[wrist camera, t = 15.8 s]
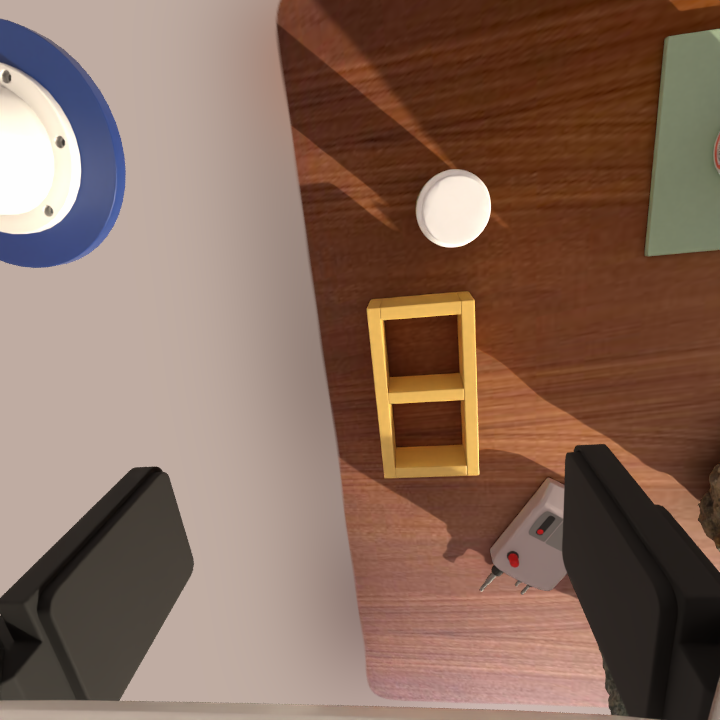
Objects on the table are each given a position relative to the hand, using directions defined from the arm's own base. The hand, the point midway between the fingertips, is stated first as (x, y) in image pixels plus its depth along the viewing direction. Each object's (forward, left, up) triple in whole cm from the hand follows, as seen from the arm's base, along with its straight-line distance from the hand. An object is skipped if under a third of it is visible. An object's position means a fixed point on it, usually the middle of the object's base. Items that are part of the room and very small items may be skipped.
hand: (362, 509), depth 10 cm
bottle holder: (+2, -8, -28) cm, 29 cm away
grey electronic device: (+12, -25, -28) cm, 40 cm away
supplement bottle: (+4, +6, -28) cm, 29 cm away
